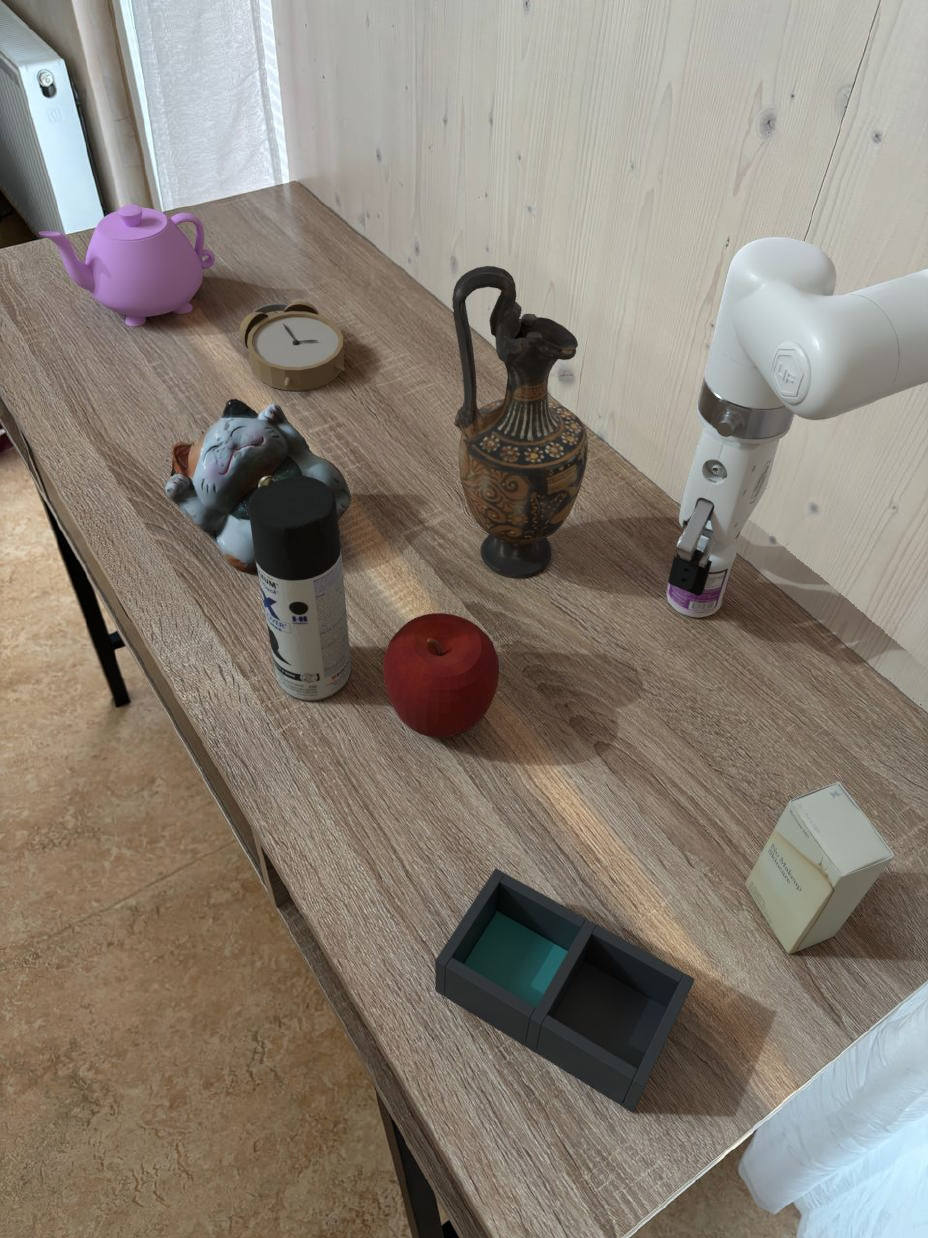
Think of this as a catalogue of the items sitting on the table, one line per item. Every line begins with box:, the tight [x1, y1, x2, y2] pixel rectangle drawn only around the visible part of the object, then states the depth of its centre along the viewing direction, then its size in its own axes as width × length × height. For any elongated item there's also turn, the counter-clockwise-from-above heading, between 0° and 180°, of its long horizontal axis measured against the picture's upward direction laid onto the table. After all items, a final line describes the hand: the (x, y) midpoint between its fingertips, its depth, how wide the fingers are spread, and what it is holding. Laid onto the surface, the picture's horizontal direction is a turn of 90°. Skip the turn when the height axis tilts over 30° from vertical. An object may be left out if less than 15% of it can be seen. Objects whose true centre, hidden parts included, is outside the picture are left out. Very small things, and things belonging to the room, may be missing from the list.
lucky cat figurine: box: [164, 398, 352, 575], centre depth 98 cm, size 15×12×14 cm
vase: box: [451, 265, 589, 579], centre depth 90 cm, size 12×12×30 cm
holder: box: [434, 868, 696, 1114], centre depth 69 cm, size 15×8×5 cm, turn 59°
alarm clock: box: [238, 300, 346, 392], centre depth 121 cm, size 11×5×15 cm
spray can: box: [248, 475, 352, 702], centre depth 82 cm, size 7×7×20 cm
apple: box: [382, 612, 500, 738], centre depth 83 cm, size 10×10×10 cm
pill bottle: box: [666, 521, 738, 618], centre depth 93 cm, size 5×5×10 cm
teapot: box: [38, 204, 216, 327], centre depth 125 cm, size 20×14×12 cm
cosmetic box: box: [744, 781, 894, 955], centre depth 71 cm, size 6×4×12 cm
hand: (704, 558), depth 93 cm, fingers open, 8 cm apart
